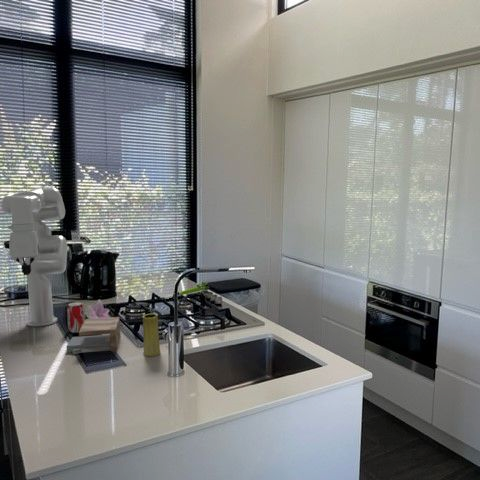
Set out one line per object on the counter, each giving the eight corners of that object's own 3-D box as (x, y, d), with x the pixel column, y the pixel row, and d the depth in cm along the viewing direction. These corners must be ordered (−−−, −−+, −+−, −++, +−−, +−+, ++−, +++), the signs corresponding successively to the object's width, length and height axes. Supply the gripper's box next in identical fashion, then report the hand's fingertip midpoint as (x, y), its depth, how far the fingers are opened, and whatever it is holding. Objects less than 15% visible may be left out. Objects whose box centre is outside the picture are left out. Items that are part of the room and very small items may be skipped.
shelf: (80, 340, 182) (78, 319, 181) (120, 337, 184) (119, 316, 183) (72, 354, 166) (70, 332, 165) (116, 351, 169) (115, 329, 168)
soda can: (80, 334, 189) (78, 306, 187) (65, 333, 190) (63, 305, 189) (89, 328, 196) (87, 301, 194) (74, 328, 197) (72, 301, 196)
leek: (160, 303, 243) (204, 288, 263) (168, 307, 238) (212, 292, 258) (160, 292, 241) (204, 279, 261) (168, 296, 237) (212, 282, 257)
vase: (163, 351, 168) (161, 314, 166) (155, 357, 162) (153, 318, 160) (148, 349, 170) (147, 312, 168) (140, 355, 164) (138, 317, 162)
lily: (85, 331, 196) (93, 313, 194) (78, 315, 204) (86, 297, 202) (110, 333, 204) (119, 316, 202) (103, 317, 212) (111, 300, 210)
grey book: (72, 343, 178) (72, 336, 178) (114, 340, 180) (114, 333, 180) (66, 352, 168) (66, 345, 168) (111, 349, 171) (110, 342, 170)
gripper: (-1, 229, 172) (3, 277, 174) (40, 228, 174) (44, 275, 177) (5, 228, 179) (9, 273, 182) (45, 226, 182) (49, 271, 184)
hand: (26, 274), depth 179 cm, fingers closed
